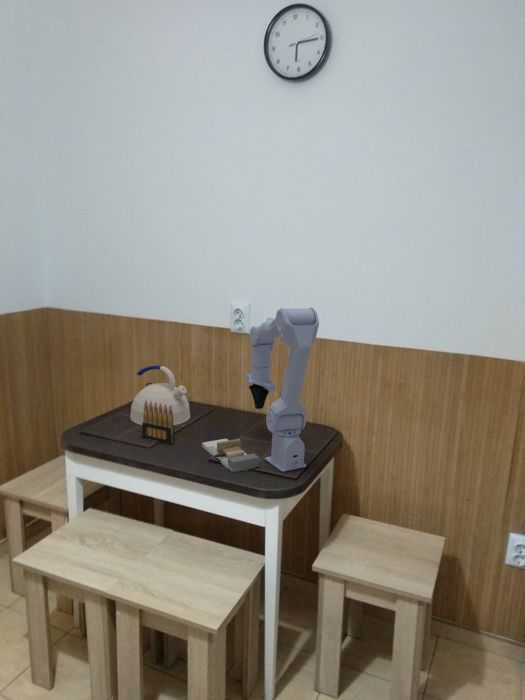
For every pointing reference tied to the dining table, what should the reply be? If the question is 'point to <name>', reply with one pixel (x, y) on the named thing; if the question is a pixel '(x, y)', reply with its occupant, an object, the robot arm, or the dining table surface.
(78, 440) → the dining table surface
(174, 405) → the kettle
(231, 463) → the gauge base
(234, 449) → the gauge carriage
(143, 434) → the ammunition clip
